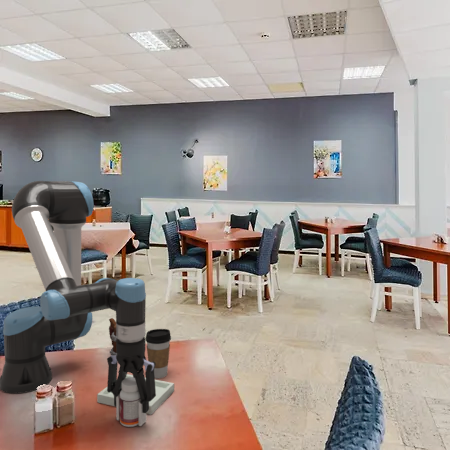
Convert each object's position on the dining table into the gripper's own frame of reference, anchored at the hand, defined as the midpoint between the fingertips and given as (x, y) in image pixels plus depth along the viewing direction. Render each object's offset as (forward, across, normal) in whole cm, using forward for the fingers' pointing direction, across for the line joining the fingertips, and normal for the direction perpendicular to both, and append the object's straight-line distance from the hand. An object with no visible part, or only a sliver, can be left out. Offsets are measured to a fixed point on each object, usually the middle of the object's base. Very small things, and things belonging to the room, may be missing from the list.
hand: (131, 420), depth 108 cm
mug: (+1, -27, +36) cm, 45 cm away
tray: (+1, -6, +12) cm, 13 cm away
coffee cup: (+1, -7, +27) cm, 28 cm away
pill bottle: (+1, 0, 0) cm, 1 cm away
